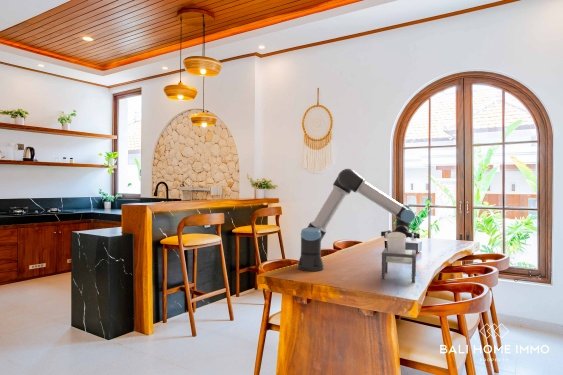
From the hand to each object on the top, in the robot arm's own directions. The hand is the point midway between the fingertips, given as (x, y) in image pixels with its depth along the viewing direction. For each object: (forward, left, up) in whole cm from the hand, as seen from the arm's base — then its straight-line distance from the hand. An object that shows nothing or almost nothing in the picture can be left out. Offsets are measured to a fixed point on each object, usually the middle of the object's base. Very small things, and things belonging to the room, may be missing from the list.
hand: (399, 236), depth 204 cm
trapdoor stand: (0, +5, -22) cm, 23 cm away
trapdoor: (0, +5, -12) cm, 13 cm away
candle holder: (-1, +4, -11) cm, 12 cm away
